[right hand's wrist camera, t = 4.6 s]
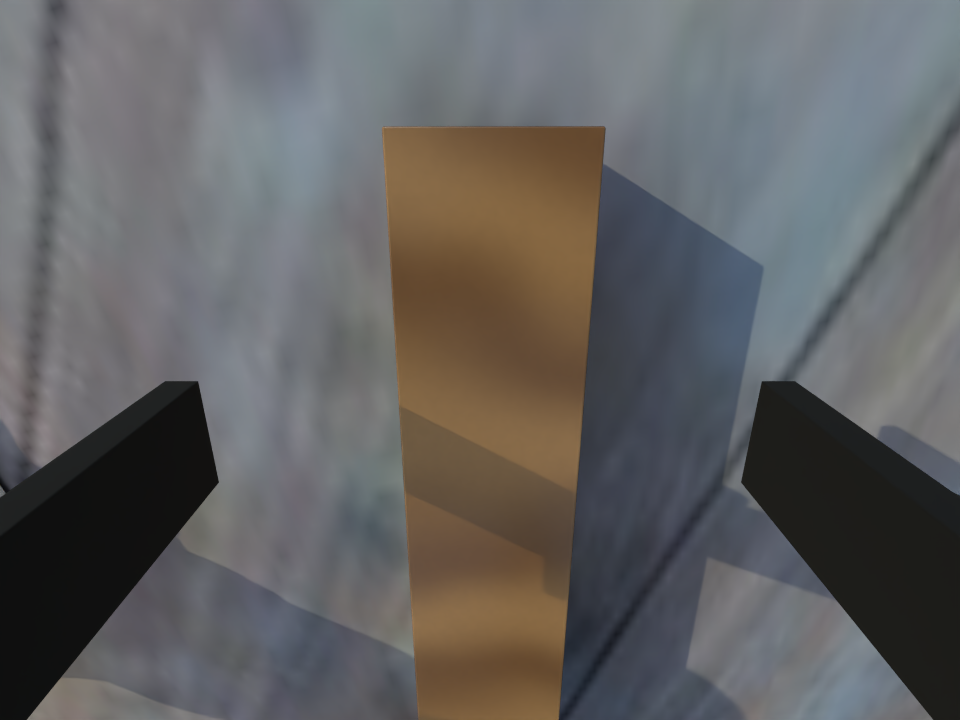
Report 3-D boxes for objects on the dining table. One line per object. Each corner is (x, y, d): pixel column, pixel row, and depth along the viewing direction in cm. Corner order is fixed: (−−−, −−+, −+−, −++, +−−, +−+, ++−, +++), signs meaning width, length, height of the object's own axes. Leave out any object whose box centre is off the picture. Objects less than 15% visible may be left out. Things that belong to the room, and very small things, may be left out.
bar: (419, 136, 21) (381, 126, 13) (563, 136, 21) (606, 126, 13) (448, 904, 40) (439, 1074, 33) (522, 905, 40) (530, 1076, 32)
